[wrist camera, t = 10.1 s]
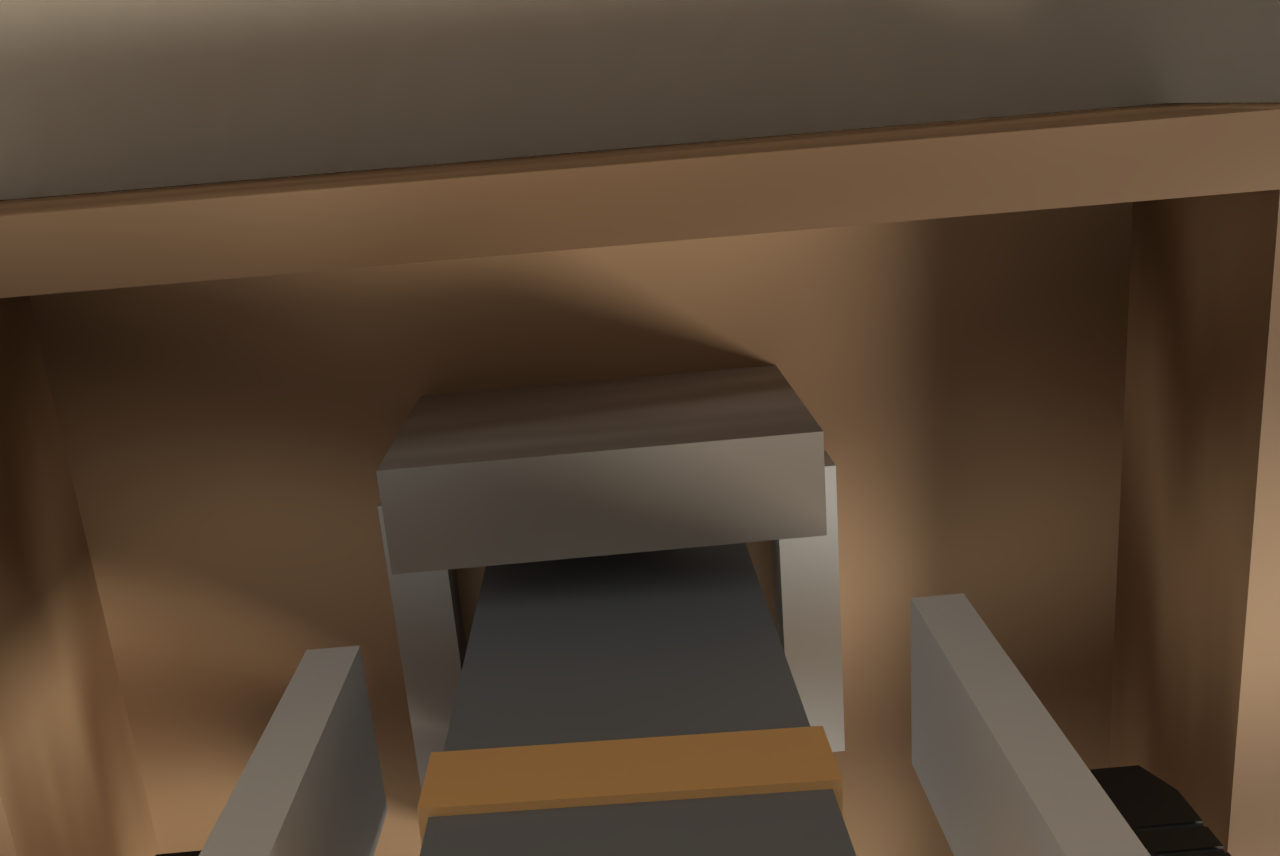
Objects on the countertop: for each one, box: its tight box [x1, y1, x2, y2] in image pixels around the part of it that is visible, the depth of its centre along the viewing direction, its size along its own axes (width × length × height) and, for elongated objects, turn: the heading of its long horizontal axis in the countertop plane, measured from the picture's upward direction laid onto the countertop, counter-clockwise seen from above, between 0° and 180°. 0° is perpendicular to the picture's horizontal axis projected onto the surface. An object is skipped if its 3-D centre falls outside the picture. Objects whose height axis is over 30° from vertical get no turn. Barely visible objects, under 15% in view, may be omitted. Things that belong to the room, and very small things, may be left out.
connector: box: [417, 543, 856, 856], centre depth 15 cm, size 4×4×10 cm
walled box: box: [0, 103, 1280, 856], centre depth 19 cm, size 20×20×5 cm
